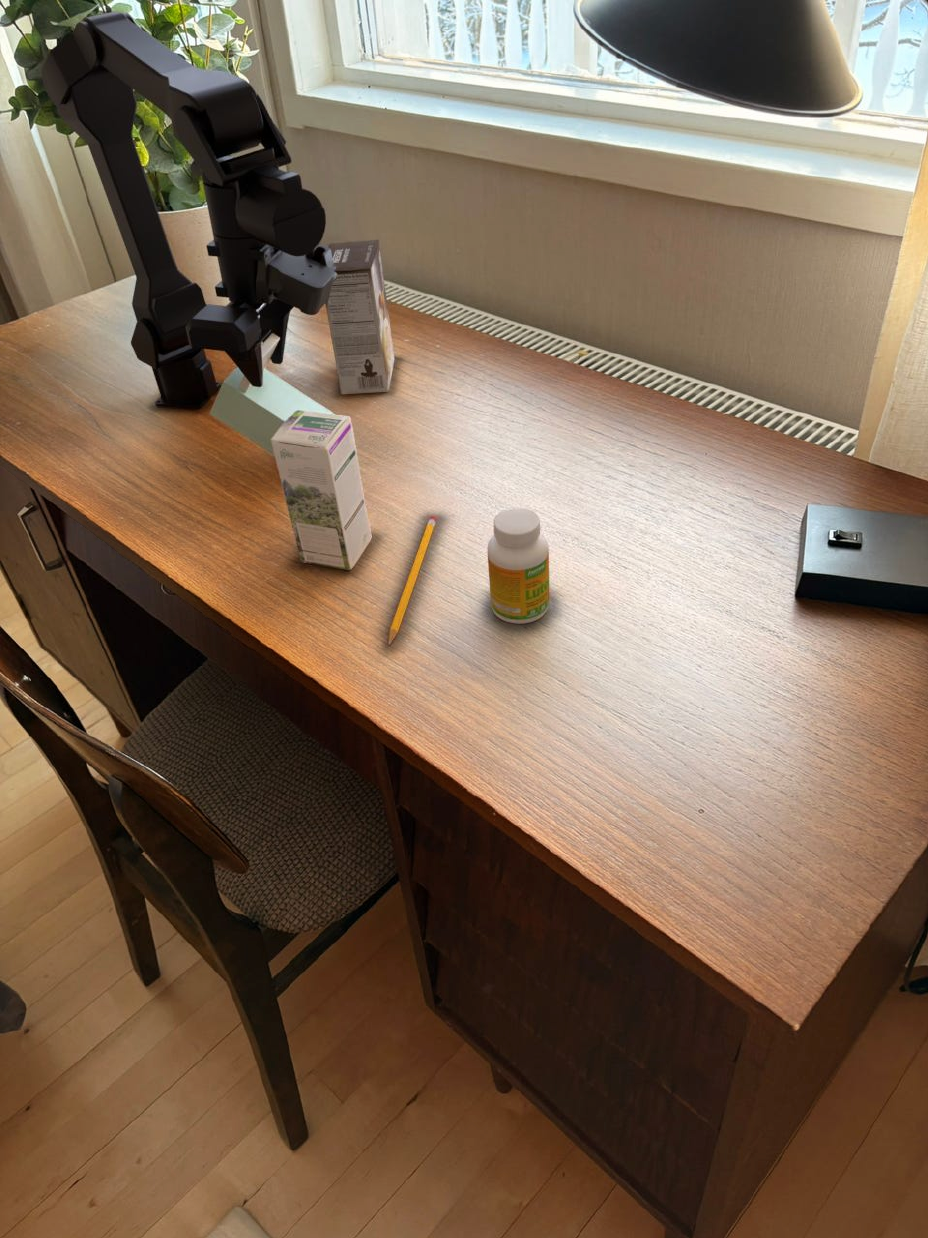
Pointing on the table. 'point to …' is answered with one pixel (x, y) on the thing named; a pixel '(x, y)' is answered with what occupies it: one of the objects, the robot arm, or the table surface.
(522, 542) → the supplement bottle
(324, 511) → the syrup box
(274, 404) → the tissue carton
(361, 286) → the coffee box
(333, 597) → the table surface
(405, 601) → the pencil
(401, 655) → the table surface
